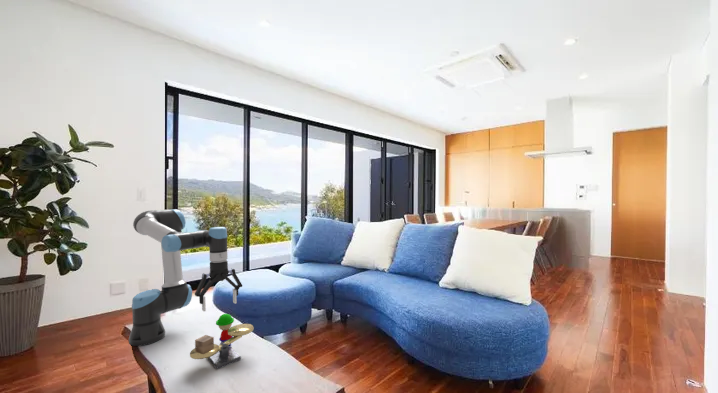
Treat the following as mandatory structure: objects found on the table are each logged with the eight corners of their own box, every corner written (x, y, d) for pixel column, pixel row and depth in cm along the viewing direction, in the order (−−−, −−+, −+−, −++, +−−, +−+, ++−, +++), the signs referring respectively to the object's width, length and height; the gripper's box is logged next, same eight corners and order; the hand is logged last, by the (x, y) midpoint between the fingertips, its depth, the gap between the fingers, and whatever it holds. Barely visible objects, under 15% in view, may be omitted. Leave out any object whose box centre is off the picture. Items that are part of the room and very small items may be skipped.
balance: (186, 365, 131) (186, 340, 130) (247, 343, 149) (247, 321, 148) (195, 377, 122) (194, 350, 122) (258, 352, 140) (258, 329, 140)
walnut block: (195, 351, 129) (195, 339, 129) (206, 346, 133) (205, 334, 133) (203, 354, 126) (202, 342, 126) (213, 348, 131) (213, 337, 131)
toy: (230, 339, 153) (229, 309, 153) (237, 344, 147) (236, 314, 147) (214, 345, 147) (213, 314, 147) (220, 351, 142) (219, 318, 142)
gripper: (190, 267, 130) (191, 316, 131) (248, 257, 147) (249, 301, 147) (186, 264, 136) (187, 311, 136) (242, 255, 152) (243, 297, 153)
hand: (219, 306), depth 142 cm, fingers open, 13 cm apart
